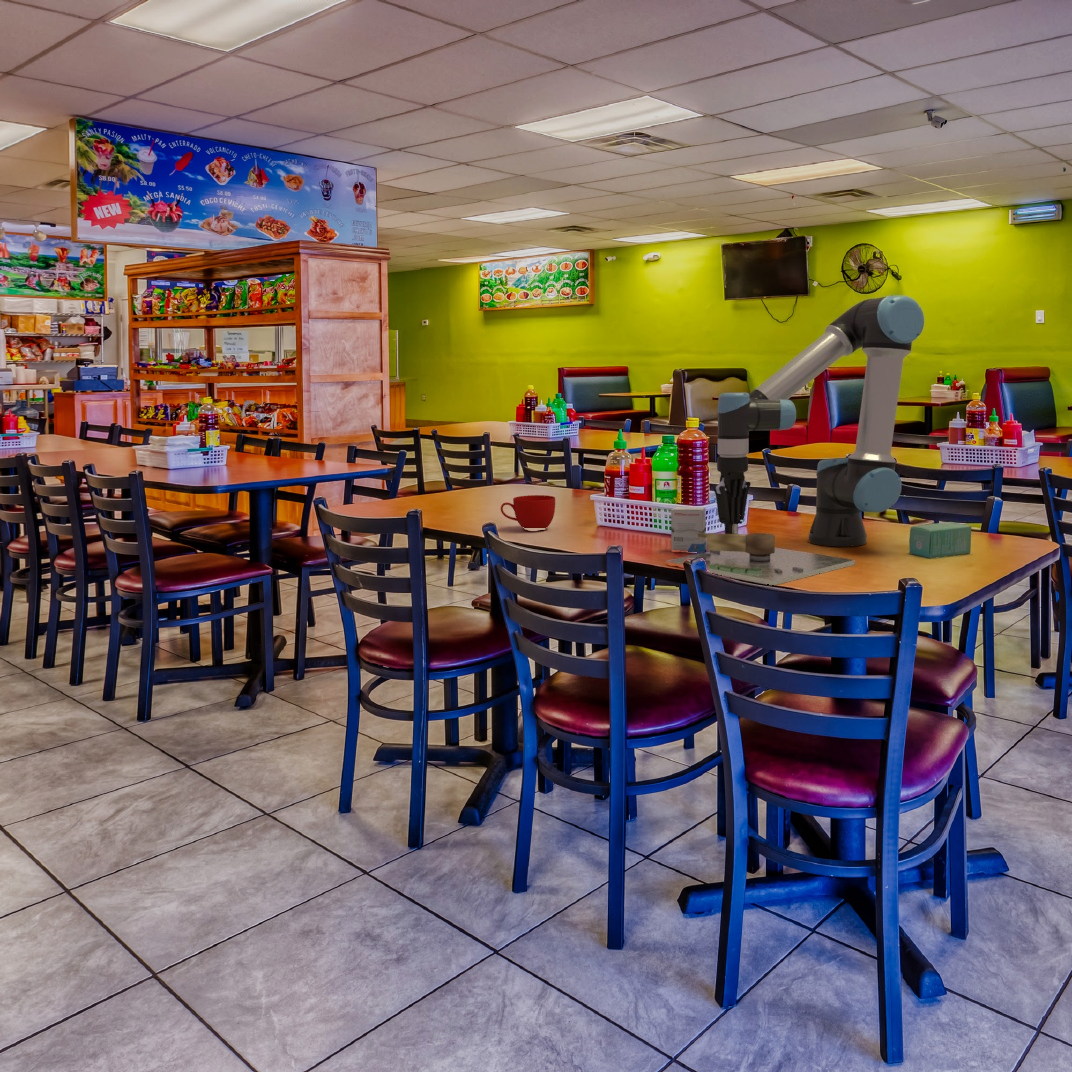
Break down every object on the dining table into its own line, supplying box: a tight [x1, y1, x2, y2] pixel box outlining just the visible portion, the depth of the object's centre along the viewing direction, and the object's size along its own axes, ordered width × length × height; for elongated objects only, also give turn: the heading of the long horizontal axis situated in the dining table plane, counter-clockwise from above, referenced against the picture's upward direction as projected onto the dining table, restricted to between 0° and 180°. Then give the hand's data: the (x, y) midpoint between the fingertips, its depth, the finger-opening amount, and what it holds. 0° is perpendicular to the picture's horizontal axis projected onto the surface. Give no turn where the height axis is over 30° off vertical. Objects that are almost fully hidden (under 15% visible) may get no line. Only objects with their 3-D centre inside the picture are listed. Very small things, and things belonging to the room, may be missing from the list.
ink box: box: [670, 506, 707, 554], centre depth 250 cm, size 9×5×12 cm, turn 70°
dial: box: [698, 532, 776, 555], centre depth 233 cm, size 19×7×4 cm, turn 69°
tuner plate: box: [666, 547, 856, 586], centre depth 232 cm, size 32×32×3 cm
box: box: [908, 521, 972, 559], centre depth 240 cm, size 7×14×8 cm, turn 111°
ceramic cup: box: [500, 494, 556, 529], centre depth 290 cm, size 13×17×10 cm
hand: (731, 549), depth 237 cm, fingers closed
